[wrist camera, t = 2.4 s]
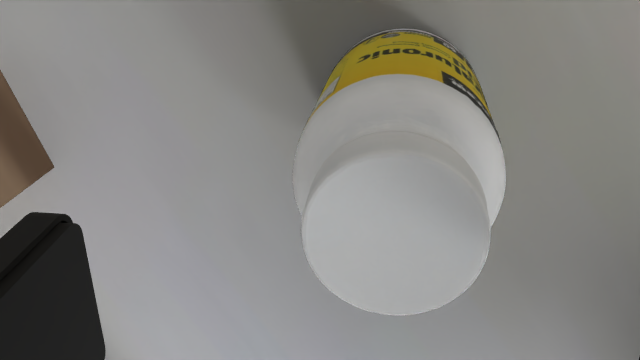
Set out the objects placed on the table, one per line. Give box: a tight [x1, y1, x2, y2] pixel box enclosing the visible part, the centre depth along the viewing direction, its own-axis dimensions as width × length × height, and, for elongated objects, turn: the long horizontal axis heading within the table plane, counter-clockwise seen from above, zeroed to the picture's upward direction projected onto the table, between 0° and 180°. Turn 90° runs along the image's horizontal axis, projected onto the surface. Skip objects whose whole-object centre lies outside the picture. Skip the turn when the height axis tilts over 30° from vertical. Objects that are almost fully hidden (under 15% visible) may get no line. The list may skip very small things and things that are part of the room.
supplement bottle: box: [293, 29, 506, 316], centre depth 17 cm, size 5×5×10 cm
